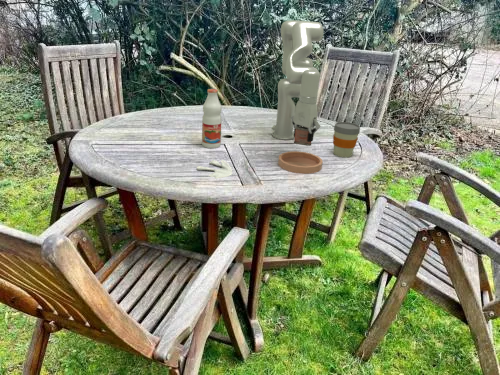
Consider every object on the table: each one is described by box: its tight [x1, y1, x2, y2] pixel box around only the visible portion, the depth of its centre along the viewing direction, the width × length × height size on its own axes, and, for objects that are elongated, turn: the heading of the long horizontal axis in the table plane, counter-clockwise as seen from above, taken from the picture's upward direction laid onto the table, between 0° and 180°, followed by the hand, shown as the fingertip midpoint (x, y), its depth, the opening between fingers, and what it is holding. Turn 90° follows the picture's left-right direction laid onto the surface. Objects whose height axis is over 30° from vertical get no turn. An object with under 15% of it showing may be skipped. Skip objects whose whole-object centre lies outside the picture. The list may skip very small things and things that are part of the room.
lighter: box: [293, 126, 312, 147], centre depth 181 cm, size 8×3×10 cm, turn 71°
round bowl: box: [277, 150, 324, 175], centre depth 187 cm, size 20×20×3 cm
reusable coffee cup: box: [332, 121, 361, 158], centre depth 202 cm, size 13×12×15 cm
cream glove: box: [196, 159, 233, 180], centre depth 178 cm, size 20×22×2 cm
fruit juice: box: [201, 88, 223, 149], centre depth 199 cm, size 9×9×28 cm
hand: (303, 138), depth 183 cm, fingers closed on lighter, 7 cm apart
